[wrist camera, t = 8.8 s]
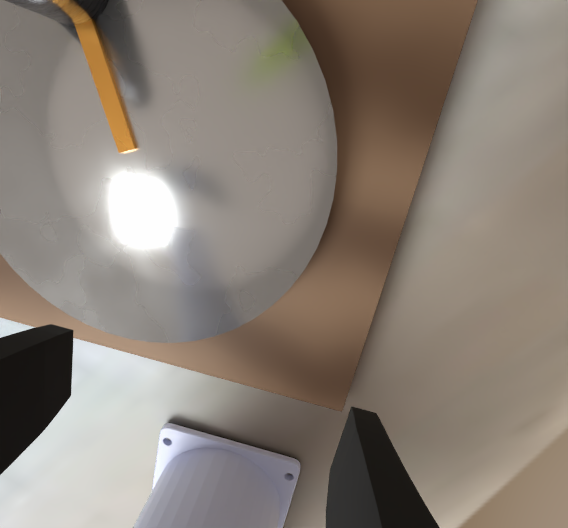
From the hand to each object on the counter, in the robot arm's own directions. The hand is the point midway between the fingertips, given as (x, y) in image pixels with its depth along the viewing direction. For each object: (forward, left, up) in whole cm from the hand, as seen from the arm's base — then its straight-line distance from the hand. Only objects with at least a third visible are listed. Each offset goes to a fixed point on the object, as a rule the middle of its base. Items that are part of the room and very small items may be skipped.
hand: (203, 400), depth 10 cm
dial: (+4, +6, -8) cm, 11 cm away
